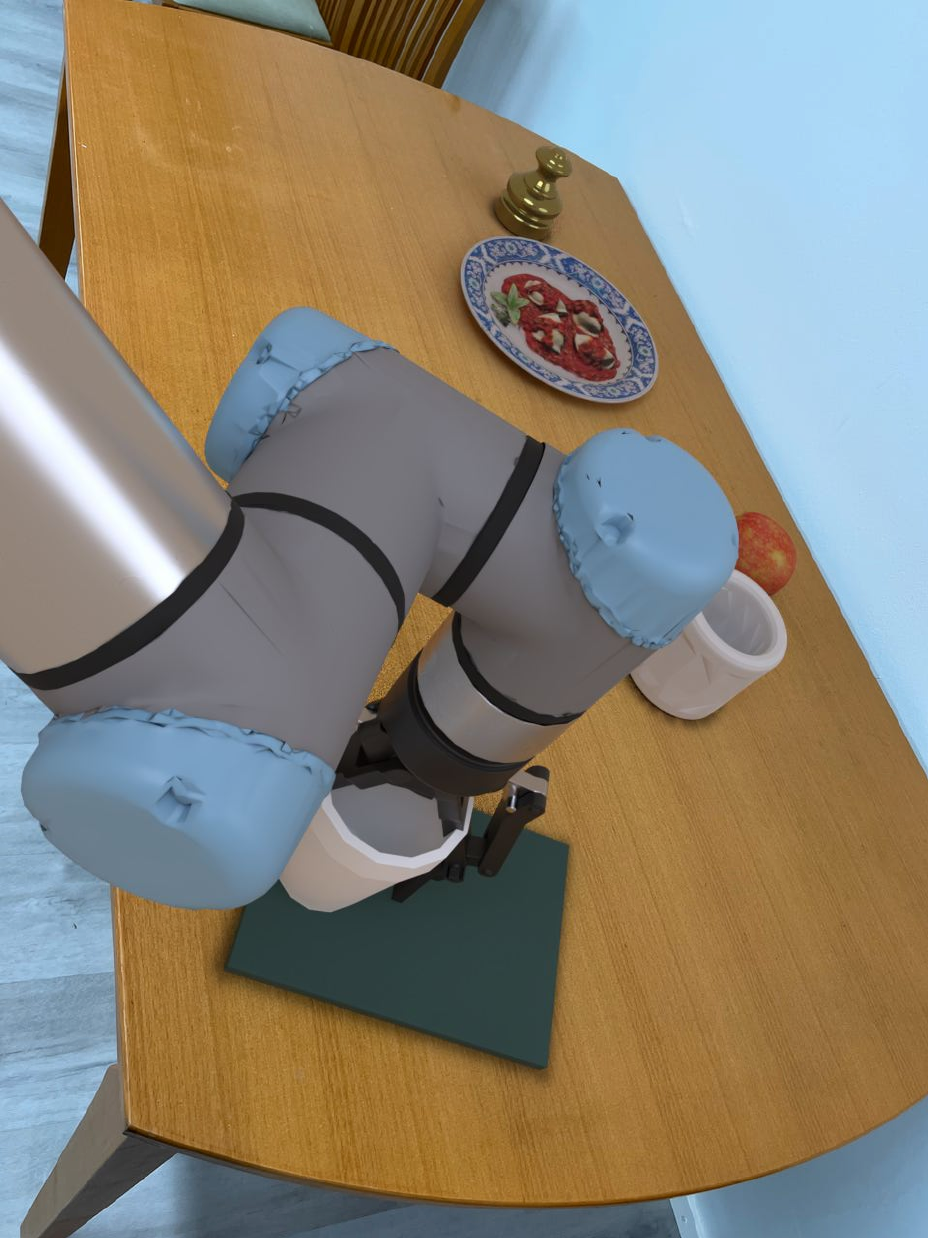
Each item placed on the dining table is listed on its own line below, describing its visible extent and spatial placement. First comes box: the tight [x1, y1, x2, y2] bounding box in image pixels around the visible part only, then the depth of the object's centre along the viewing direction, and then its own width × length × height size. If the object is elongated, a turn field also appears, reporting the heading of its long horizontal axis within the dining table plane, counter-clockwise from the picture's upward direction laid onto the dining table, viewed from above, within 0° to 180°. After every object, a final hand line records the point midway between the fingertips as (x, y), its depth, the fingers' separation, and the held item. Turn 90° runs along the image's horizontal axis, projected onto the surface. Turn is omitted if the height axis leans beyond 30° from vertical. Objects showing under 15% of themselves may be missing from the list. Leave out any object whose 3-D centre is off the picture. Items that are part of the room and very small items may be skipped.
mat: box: [223, 808, 570, 1071], centre depth 66 cm, size 22×16×1 cm
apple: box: [734, 511, 797, 597], centre depth 99 cm, size 8×8×8 cm
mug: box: [629, 569, 788, 720], centre depth 86 cm, size 14×11×10 cm
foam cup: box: [279, 731, 475, 912], centre depth 59 cm, size 10×9×13 cm
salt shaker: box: [494, 145, 574, 241], centre depth 118 cm, size 7×7×10 cm
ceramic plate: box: [459, 235, 660, 404], centre depth 111 cm, size 26×26×3 cm
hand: (330, 857), depth 63 cm, fingers closed on foam cup, 9 cm apart
